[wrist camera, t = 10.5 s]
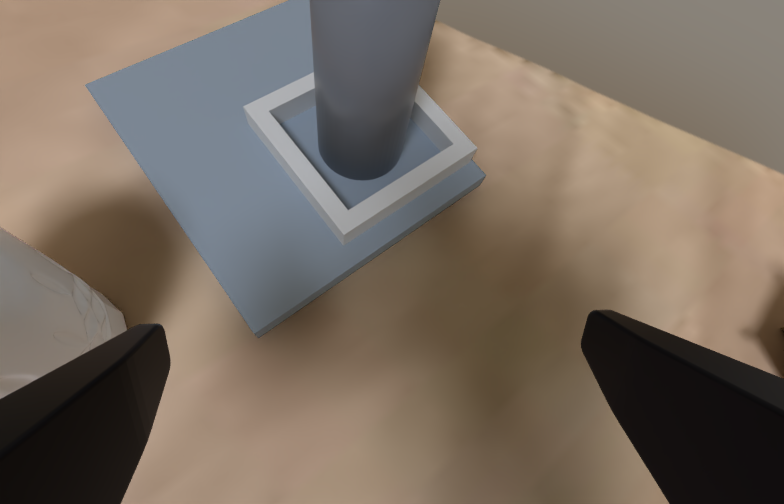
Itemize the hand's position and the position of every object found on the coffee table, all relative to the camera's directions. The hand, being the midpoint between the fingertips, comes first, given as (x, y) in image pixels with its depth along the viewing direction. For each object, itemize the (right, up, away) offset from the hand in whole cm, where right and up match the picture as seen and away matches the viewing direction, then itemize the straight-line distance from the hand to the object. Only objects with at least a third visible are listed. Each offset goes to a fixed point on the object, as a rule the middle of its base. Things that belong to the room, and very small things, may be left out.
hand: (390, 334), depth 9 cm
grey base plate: (-6, +9, +17) cm, 20 cm away
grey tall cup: (-2, +8, +16) cm, 18 cm away
